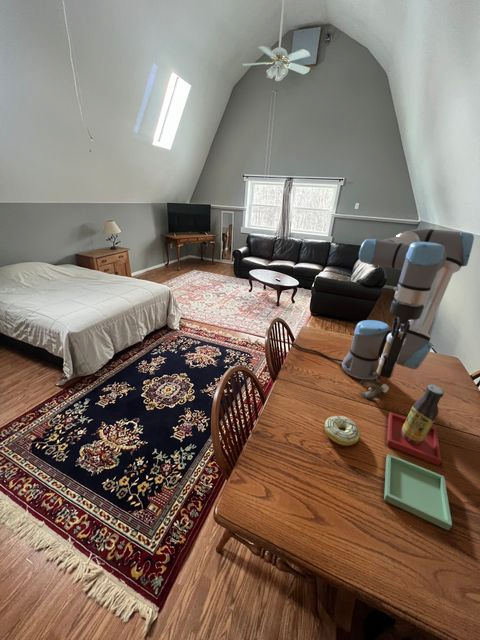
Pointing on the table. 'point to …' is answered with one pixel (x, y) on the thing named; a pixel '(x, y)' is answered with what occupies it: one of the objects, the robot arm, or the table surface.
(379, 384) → the eagle figurine
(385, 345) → the sprinkles bottle
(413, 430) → the sauce bottle
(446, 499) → the green tray
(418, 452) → the red tray
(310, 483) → the table surface
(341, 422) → the decorated donut
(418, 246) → the robot arm
